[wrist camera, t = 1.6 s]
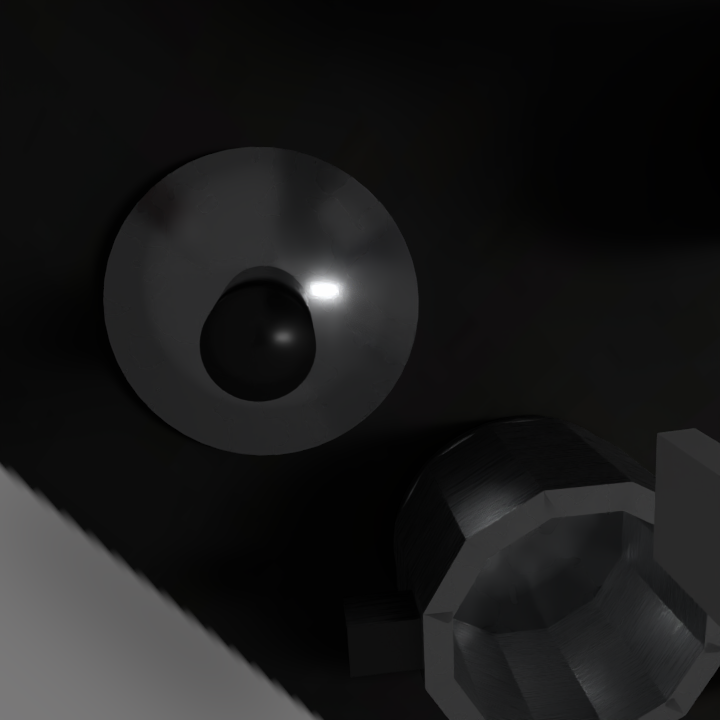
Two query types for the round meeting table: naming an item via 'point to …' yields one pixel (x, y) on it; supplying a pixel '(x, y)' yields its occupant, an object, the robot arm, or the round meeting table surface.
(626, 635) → the pot
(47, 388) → the round meeting table surface
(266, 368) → the lid
